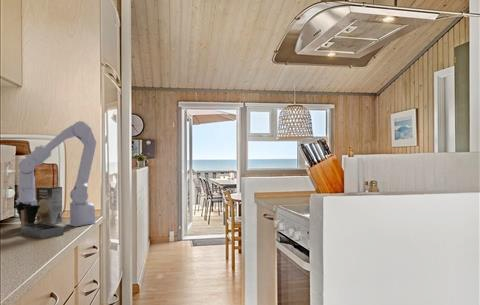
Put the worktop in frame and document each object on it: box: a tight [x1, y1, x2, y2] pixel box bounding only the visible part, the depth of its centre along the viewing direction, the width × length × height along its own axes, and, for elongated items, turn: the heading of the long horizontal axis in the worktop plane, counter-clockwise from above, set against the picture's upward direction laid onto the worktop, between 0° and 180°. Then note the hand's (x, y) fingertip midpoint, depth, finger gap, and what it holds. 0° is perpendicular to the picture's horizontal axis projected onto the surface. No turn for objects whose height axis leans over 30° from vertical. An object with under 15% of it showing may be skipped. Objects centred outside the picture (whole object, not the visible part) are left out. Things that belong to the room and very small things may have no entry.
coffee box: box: [35, 185, 63, 225], centre depth 163 cm, size 9×6×16 cm
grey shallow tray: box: [21, 222, 65, 240], centre depth 139 cm, size 8×17×3 cm, turn 51°
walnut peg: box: [20, 210, 35, 231], centre depth 148 cm, size 4×4×8 cm
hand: (27, 222), depth 148 cm, fingers open, 7 cm apart
